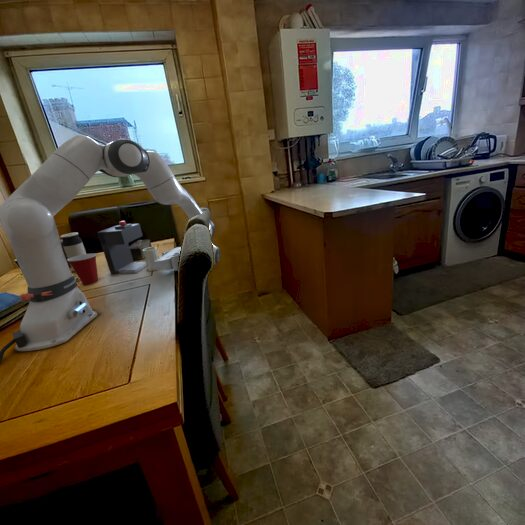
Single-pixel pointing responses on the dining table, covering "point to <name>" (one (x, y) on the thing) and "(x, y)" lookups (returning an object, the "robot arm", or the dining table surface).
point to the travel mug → (72, 245)
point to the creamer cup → (150, 257)
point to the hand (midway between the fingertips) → (157, 257)
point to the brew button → (122, 223)
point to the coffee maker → (120, 248)
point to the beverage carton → (139, 248)
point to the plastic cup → (85, 267)
